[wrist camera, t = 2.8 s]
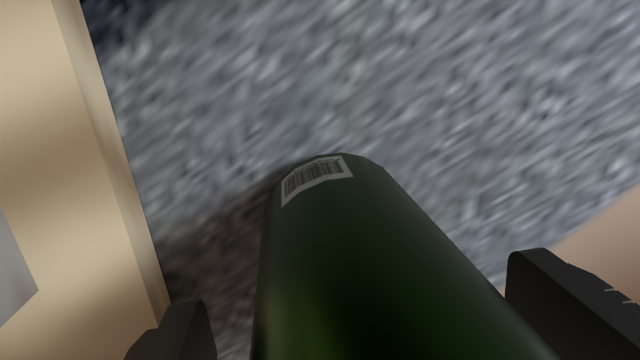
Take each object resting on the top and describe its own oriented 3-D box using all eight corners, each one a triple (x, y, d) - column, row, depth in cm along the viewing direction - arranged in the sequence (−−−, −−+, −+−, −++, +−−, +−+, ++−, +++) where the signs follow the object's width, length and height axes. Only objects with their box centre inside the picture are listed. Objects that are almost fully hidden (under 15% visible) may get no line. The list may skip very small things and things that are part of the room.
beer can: (235, 198, 13) (-30, 1057, 2) (355, 119, 13) (992, 643, 1) (313, 293, 15) (416, 1014, 4) (421, 226, 14) (924, 832, 3)
